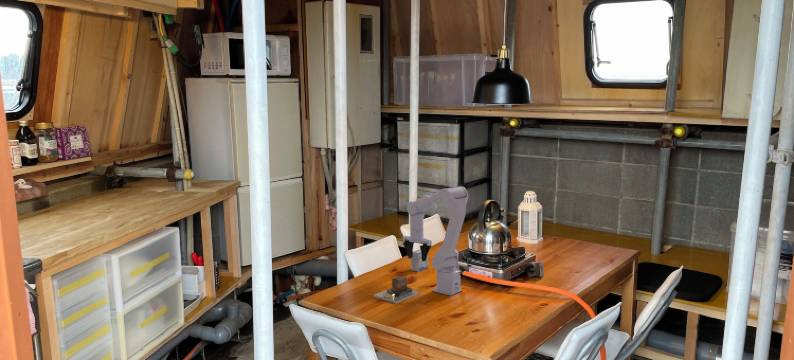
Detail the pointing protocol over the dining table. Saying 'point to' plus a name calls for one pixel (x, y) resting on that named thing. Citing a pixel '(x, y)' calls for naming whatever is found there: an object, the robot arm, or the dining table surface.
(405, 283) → the walnut wedge block
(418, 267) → the medicine box
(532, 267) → the caster wheel
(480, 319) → the dining table surface
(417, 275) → the dining table surface
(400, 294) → the steel rosette plate
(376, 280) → the dining table surface
